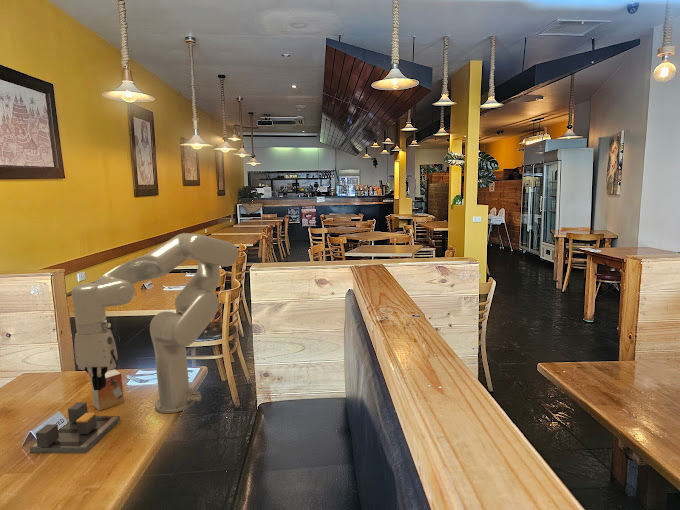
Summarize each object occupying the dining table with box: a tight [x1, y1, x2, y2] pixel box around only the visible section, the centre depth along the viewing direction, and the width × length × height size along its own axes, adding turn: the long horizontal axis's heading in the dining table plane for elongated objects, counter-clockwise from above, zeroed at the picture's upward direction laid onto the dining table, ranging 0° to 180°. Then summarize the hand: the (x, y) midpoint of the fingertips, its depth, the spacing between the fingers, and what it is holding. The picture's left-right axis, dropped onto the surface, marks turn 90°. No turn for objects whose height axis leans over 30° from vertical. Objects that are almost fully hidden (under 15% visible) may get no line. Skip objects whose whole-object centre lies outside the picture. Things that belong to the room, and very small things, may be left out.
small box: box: [90, 368, 125, 412], centre depth 147 cm, size 8×6×10 cm
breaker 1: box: [35, 423, 59, 447], centre depth 122 cm, size 3×4×4 cm
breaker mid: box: [76, 412, 97, 434], centre depth 128 cm, size 3×4×4 cm
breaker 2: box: [67, 401, 89, 422], centre depth 135 cm, size 3×4×4 cm
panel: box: [29, 415, 121, 454], centre depth 129 cm, size 16×17×2 cm
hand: (100, 388), depth 126 cm, fingers closed
